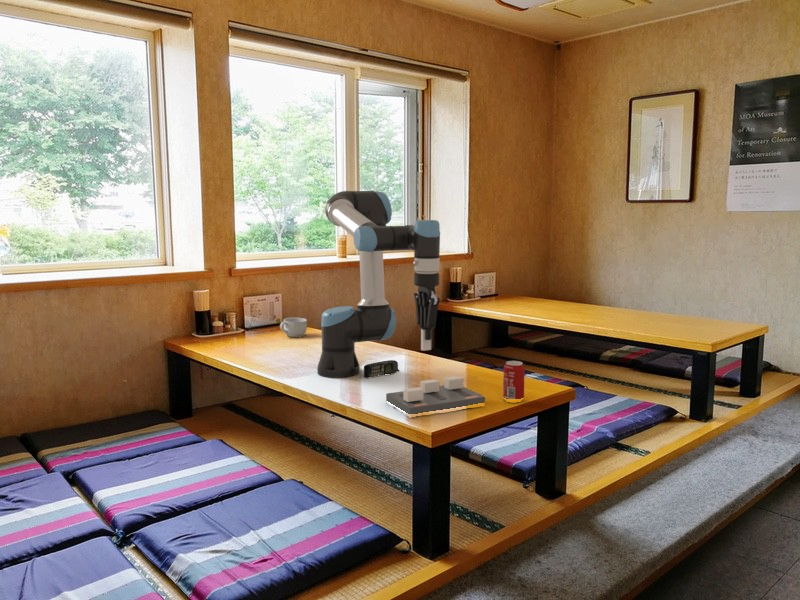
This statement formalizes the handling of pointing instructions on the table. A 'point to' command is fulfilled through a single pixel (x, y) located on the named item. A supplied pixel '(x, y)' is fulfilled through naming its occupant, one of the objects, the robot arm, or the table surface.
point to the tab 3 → (453, 382)
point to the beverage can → (513, 380)
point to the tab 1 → (413, 394)
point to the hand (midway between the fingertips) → (426, 349)
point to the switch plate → (436, 400)
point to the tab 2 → (429, 386)
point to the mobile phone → (380, 368)
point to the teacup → (294, 326)
